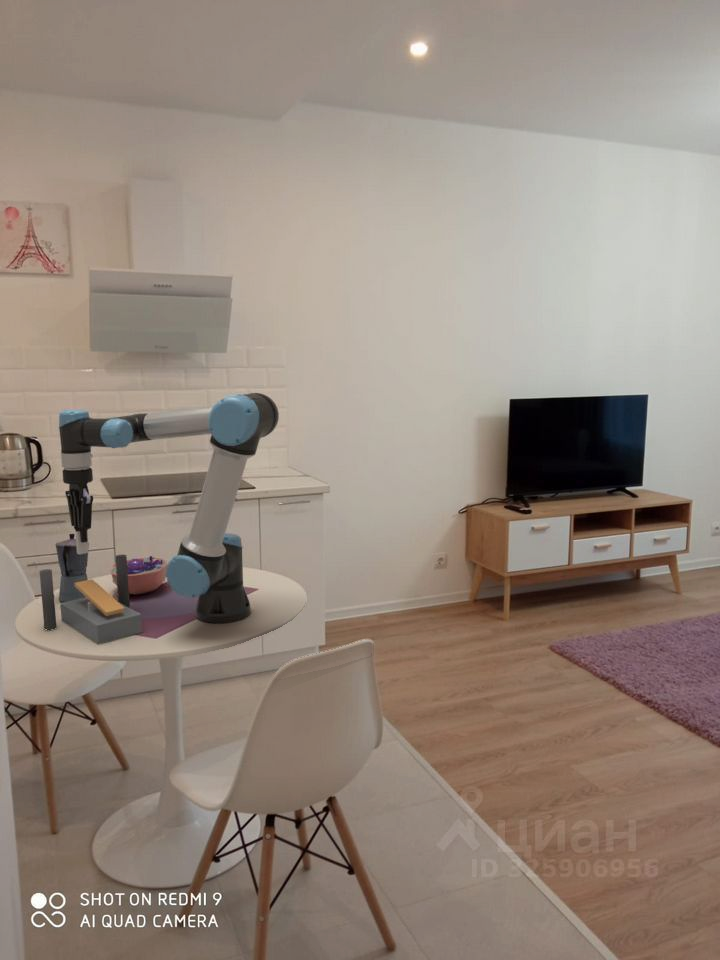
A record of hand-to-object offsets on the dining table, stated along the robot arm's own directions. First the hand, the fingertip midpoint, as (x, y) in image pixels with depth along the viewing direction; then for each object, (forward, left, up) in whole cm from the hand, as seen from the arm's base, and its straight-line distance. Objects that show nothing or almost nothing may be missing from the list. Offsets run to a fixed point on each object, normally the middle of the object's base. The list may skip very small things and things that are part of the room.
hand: (82, 553), depth 205 cm
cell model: (+13, -22, -19) cm, 32 cm away
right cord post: (0, -11, -19) cm, 22 cm away
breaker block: (-8, 0, -19) cm, 21 cm away
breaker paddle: (-8, 0, -11) cm, 13 cm away
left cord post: (0, +10, -19) cm, 21 cm away
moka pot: (+19, -4, -19) cm, 27 cm away
